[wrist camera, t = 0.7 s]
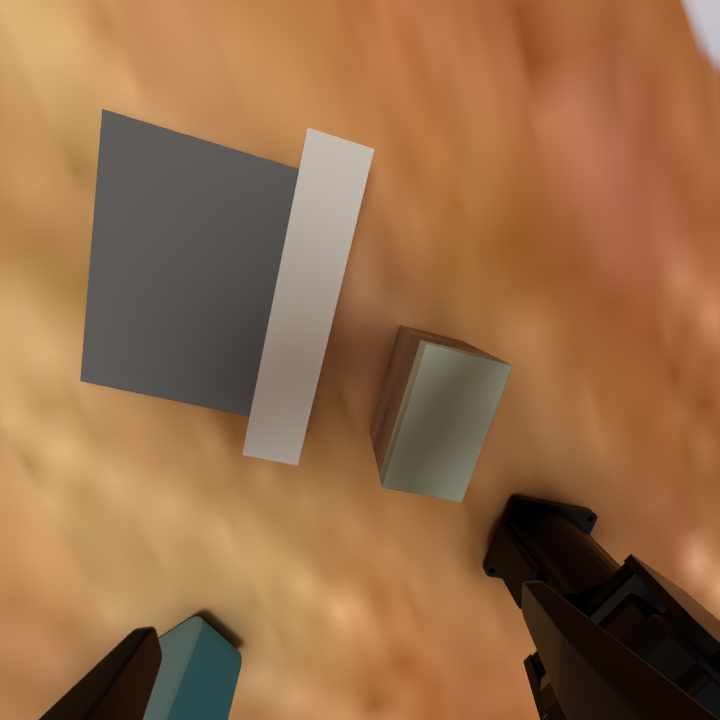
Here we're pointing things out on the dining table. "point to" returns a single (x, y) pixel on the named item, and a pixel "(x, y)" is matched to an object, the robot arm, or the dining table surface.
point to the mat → (182, 265)
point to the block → (435, 413)
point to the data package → (194, 674)
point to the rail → (306, 293)
